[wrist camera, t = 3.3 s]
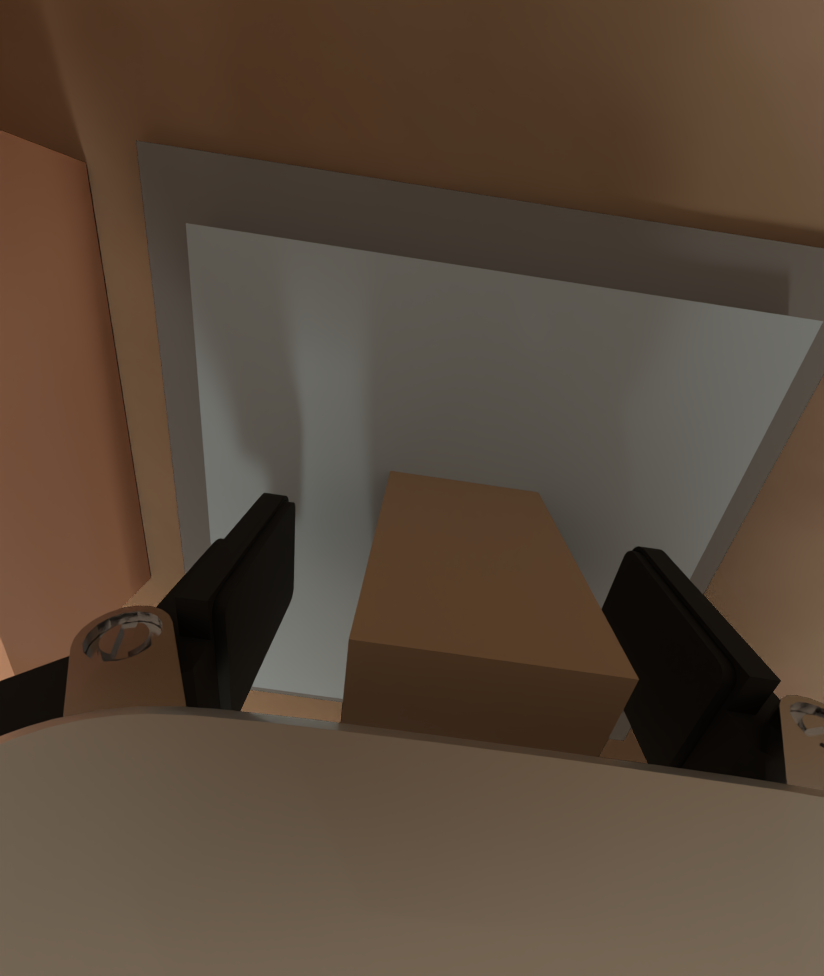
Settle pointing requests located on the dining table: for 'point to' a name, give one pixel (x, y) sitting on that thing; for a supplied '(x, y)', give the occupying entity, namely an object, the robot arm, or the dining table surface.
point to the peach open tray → (58, 417)
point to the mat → (461, 241)
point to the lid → (469, 469)
